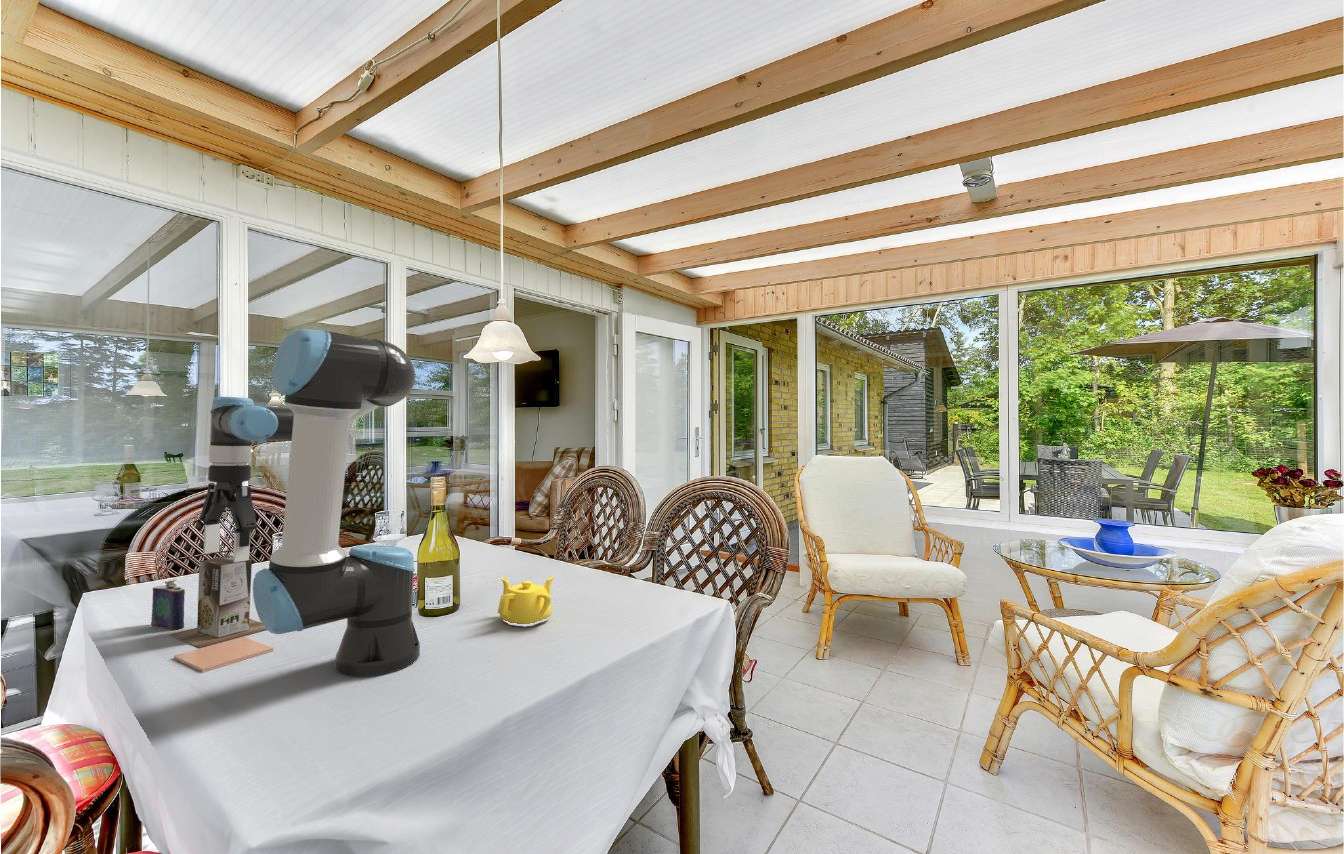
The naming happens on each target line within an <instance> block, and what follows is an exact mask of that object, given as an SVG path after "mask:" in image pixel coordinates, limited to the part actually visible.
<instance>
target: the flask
mask: <svg viewBox="0 0 1344 854" xmlns="http://www.w3.org/2000/svg"><path fill="white" fill-rule="evenodd" d="M175 582H177V579H173V580H171V579H170V580H168V581H164V584H165V585H157V586H154V587H152V604H151V622H150V625H151V626H152V627H157V628H159V627H163V628H162V629H165V630H170V631H178V630H179V629H180V630H182V629H184V628H185V593H186V592H185V591H186V590H185V588H182V587H181V586H178V585H177V583H175Z"/></svg>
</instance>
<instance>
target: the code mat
mask: <svg viewBox="0 0 1344 854" xmlns="http://www.w3.org/2000/svg"><path fill="white" fill-rule="evenodd" d="M265 631H268V630H267V629H266V628H265V627H264V626H263V624H262V623H261V621H257V620H254V619H252V618H249V629H248V630H246V631H242V632H238V633H234V634H230V635H227V636H223V637H219V638H218V637H214V636H211V635H208V634H205V633H201V632H198V631H197V627H194V628H191V629H189V628H188V629H186V630H182V631H178V632H174V633H170V634H169V636H171V637H172V636H173V637H172V638H175V639H177V638H178V640H179V641H182V640H183V641H182V642H184V641H185V642H184V643H186V642H187V644H189V645H191V644H192V645H191V646H193V645H194V646H193V647H196V646H197V647H196V648H197V649H200V648H204V647H205V646H206V647H207V646H211V645H215V644H219V642H221V643H222V642H226V641H230V640H233V639H237V638H241V637H247V636H250V635H253V634H258V633H261V632H265Z"/></svg>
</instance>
